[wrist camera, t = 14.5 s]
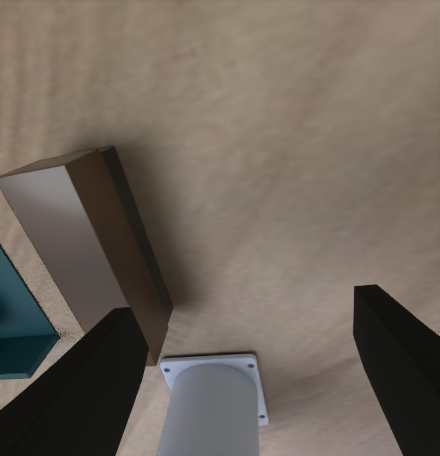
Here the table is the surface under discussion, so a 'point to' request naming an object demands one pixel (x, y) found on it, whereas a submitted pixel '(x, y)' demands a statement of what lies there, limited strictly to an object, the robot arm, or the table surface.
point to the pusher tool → (21, 326)
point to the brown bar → (91, 239)
